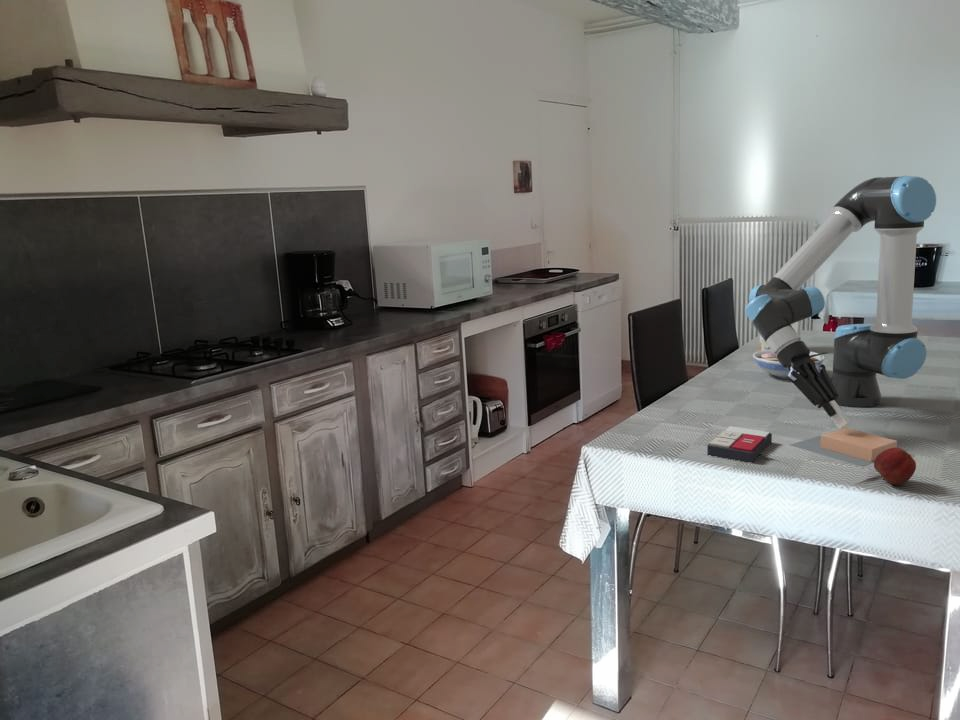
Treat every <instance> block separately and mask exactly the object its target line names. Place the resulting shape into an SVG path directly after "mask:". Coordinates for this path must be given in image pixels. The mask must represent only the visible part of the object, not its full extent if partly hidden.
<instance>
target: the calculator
mask: <svg viewBox="0 0 960 720" xmlns="http://www.w3.org/2000/svg"><path fill="white" fill-rule="evenodd" d="M772 436H773V434H772V432H770V431H764V430H757V429H751V428H745V427H738V426H730V425H729V426H728V427H727V428H725V430H723V431H722V432H720V433H719V434H718V435H717V436H716V437H715V438H714V439H712V441H710V442H709V443H708V444H707V456H709V455H711V456H710V457H714V456H717V457H716V458H720V457H722V458H721V459H725V458H728V459H727V460H731V459H733V460H732V461H737V460H740V461H739V462H742V461H745V462H744V463H748V462H753V463H755V462H756V461H757V460H758V459H759V458H760V457H762V454H761V453H762V452H763V451H765V450H766V449H767V448H768V447H769V446H770V445H771V444H772V440H773V439H772V438H773V437H772ZM759 456H760V457H759ZM758 457H759V458H758ZM757 458H758V459H757ZM734 459H735V460H734ZM756 459H757V460H756ZM755 460H756V461H755Z"/></svg>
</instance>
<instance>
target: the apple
mask: <svg viewBox="0 0 960 720" xmlns="http://www.w3.org/2000/svg"><path fill="white" fill-rule="evenodd" d="M904 450H905V449H904ZM904 450H903V448H900V447H898V446H897V447H896V448H890V449H887V450H885V451H883V452H881V453H880V454H879V455H878V456H877V457H876V459H875V461H874V462H873V467H874V469H875V471H876V472H878V473H879V475H880V476H881V478H882V481H885V482H887V483H888V484H890V485H894V486H895V485H896V486H897V485H898V486H899V485H903V484H905V483H906V482H908V481H909V480H910V479H911V478H912V477H913V476H914V474H915V472H916V469H917V463H916V460H915V459H914V458H913V457H912V456H911V455H910V453H908V451H904Z"/></svg>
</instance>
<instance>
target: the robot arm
mask: <svg viewBox="0 0 960 720" xmlns="http://www.w3.org/2000/svg"><path fill="white" fill-rule="evenodd" d="M936 195H937V194H936V191H935V189H934V187H933V186H932V184H931V183H930V182H929V181H928V180H927V179H925V178H923V177H920V176H916V175H915V176H912V175H902V176H889V177H888V176H887V177H884V176H883V177H881V176H879V177H873V178H870V179H867V180H865V181H863V182H861V183H859V184H857V185H856V186H854V187H853V188H851V190H849V191H848V192H846V194H844V196H843V197H841V198H840V199H839V200H838V202H836V203H835V205H834V206H833V207H831V209H830V215H829V216H828V217H827V218H826V219H825V221H824V222H823V223H822V224H821V225H820V226H819V227H818V228H817V229H816V230H815V231H814V233H813V234H812V235H810V237H809V238H808V239H807V240H806V241H804V243H803V244H802V246H800V247H799V249H797V250H796V251H795V253H794V254H793V255H792V256H791V257H790V259H788V260H787V262H785V264H784V265H783V266H782V267H781V268H780V269H779V270H778V271H777V272H776V274H774V276H772V278H771V279H770V280H769V281H768V282H767V283H766V284H759V285H756V286H754V287H753V288H752V290H750V293H749V296H748V301H749V302H748V303H747V305H746V306H745V309H744V312H745V314H746V316H747V318H748V319H749V321H750V323H751V324H752V325H753V326H754V328H755V329H756V331H757V332H758V333H759V336H760V335H761V336H762V338H763V339H764V340H765V342H766V343H767V344H768V346H769V347H770V349H771V350H772V352H773V353H774V354H775V355H777V359H778V360H779V362H780V363H781V365H782V366H783V367H784V368H788V369H789V371H790V373H789V374H788V375H787V376H786V378H787V379H786V380H788V381H789V382H790V383H792V384H793V385H794V386H795V387H796V388H797V389H798V390H799V391H800V392H801V393H802V394H803V395H804V396H805V397H806V399H807V400H808V401H809V402H810V403H811V404H812V405H813V406H815V407H816V406H817V408H818V409H821V408H823V409H824V411H825V412H826V414H827V415H828V416H829V417H830V418H831V420H832V421H833V423H834V424H835V425H836V427H837V429H838V430H841V429H844V428H846V427H847V426H848V425H850V424H851V421H850V420H849V418H848V417H847V415H846V414H845V412H844V411H843V409H842V407H841V406H845V407H855V408H858V407H859V408H864V407H865V408H868V407H874V406H875V407H876V406H878V405H881V403H882V394H881V389H880V386H879V382H878V379H877V378H878V377H877V374H878V375H882V376H884V377H887V378H891V379H899V380H901V379H902V380H904V379H907V378H910V377H913V376H914V375H916V374H917V373H918V371H920V369H922V367H923V366H924V364H925V361H926V358H927V353H928V352H927V347H926V345H925V344H924V342H923V341H922V340H921V339H919V338H918V327H916V325H915V324H913V309H914V308H913V307H914V305H913V304H914V292H915V291H914V289H915V288H914V286H915V285H914V284H915V269H916V254H917V238H918V237H917V236H918V233H920V231H922V230H923V229H924V228H925V221H927V220H928V219H929V218H930V217H931V216H932V213H933V212H935V208H936V205H937V196H936ZM871 222H874V226H873V227H874V229H873V230H874V231H876V232H877V233H878V235H879V238H880V239H879V257H878V258H879V259H878V274H877V275H878V278H877V293H876V294H877V295H876V296H877V299H876V301H877V302H876V303H877V304H876V316H875V317H876V319H875V320H876V321H875V322H874V323H853V324H843V325H838V326H837V327H836V329H835V334H834V338H833V340H834V341H833V359H832V363H833V364H832V374H831V376H830V377H829V373H827V370H826V369H827V368H826V366H825V364H823V363H822V364H821V365H820V366H819V365H816V364H815V362H814V361H813V360H812V359H811V358H810V357H809V354H810V352H811V351H810V348H809V347H808V346H807V345H806V343H805V342H804V341H803V340H801V339H802V337H801V335H800V336H799V335H798V334H797V332H796V331H795V330H794V328H793V327H792V326H791V324H793V323H796V322H798V321H801V322H802V321H803V320H806V319H808V318H811V317H814V316H815V315H818V314H819V313H821V312H823V310H824V308H825V305H826V304H825V297H824V295H823V293H822V291H821V290H820V289H819V288H818V287H816V286H813V285H812V286H807V287H806V286H805V287H802V286H804V284H805V283H806V282H807V281H808V280H809V279H810V278H811V277H812V276H813V275H814V274H815V273H816V271H817V270H819V268H820V267H821V266H822V265H823V264H824V263H825V262H826V261H828V259H829V258H830V257H831V256H832V254H834V252H835V251H837V249H838V248H839V247H840V246H841V245H842V244H843V243H844V242H845V241H846V240H847V239H848V238H849V237H850V235H851V234H852V233H856V232H860V230H861V229H862V228H863V227H864V226H865V225H867V224H868V223H871Z"/></svg>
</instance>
